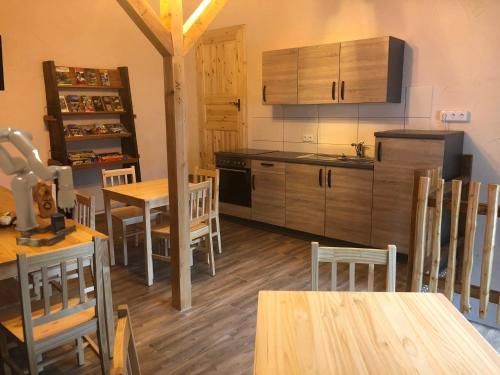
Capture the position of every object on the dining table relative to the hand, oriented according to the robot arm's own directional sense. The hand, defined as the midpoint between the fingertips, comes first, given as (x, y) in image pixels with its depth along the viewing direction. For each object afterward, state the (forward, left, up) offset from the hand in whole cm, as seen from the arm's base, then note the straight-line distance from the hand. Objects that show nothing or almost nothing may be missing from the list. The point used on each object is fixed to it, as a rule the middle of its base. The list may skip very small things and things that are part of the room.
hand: (69, 218), depth 245 cm
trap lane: (0, -17, -6) cm, 18 cm away
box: (0, -9, -6) cm, 11 cm away
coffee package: (-32, +18, -6) cm, 37 cm away
